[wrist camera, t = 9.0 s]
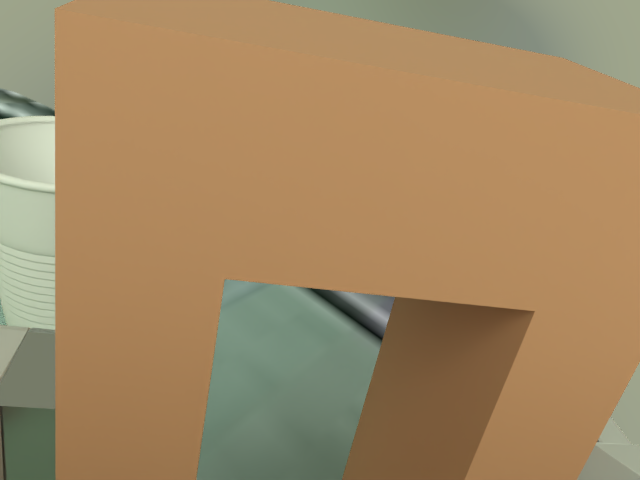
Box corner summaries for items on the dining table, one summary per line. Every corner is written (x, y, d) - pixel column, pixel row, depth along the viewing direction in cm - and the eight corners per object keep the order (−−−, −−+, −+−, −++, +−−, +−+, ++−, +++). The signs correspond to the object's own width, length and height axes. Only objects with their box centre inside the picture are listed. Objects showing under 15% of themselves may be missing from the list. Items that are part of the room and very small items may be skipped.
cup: (131, 275, 40) (141, 117, 36) (183, 365, 33) (205, 183, 28) (-40, 295, 35) (-55, 112, 30) (-20, 408, 28) (-36, 192, 23)
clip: (55, 817, 9) (55, 9, 4) (102, 591, 12) (135, -27, 7) (408, 794, 10) (760, 135, 5) (369, 592, 14) (562, 58, 8)
